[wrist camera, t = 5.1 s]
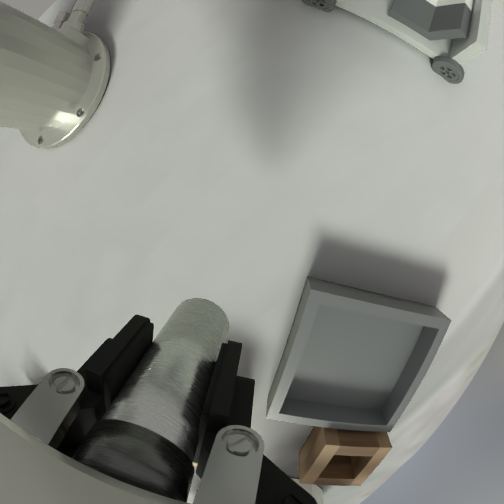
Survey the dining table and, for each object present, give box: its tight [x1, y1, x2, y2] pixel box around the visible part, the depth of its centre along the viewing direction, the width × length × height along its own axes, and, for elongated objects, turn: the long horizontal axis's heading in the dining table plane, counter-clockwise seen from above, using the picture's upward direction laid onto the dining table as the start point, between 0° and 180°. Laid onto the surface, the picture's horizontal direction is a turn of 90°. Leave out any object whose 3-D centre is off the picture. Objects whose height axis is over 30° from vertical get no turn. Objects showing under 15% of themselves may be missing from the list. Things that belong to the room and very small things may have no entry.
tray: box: [266, 277, 451, 432], centre depth 22 cm, size 12×12×3 cm
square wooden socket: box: [299, 426, 392, 486], centre depth 24 cm, size 7×7×4 cm
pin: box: [72, 298, 229, 502], centre depth 9 cm, size 3×3×10 cm
